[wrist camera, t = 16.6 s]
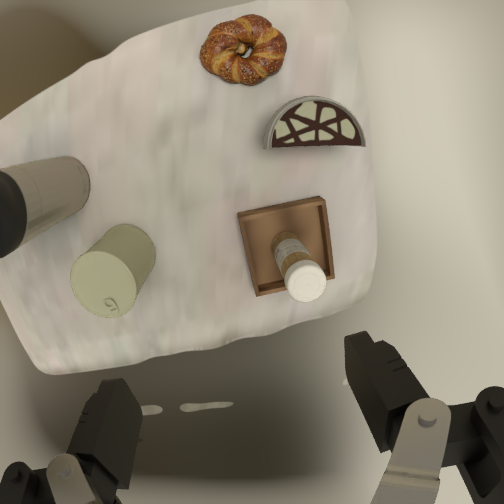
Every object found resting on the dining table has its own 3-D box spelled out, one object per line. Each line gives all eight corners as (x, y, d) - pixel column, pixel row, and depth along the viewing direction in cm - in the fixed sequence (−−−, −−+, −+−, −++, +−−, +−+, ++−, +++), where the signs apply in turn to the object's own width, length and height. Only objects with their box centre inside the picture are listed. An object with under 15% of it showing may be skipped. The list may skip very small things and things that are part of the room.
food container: (338, 103, 40) (367, 95, 31) (340, 144, 43) (370, 146, 33) (253, 104, 40) (261, 94, 30) (256, 147, 42) (265, 149, 33)
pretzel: (208, 95, 39) (206, 91, 36) (193, 28, 35) (191, 19, 32) (292, 80, 39) (298, 75, 36) (276, 15, 35) (280, 5, 32)
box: (254, 287, 49) (256, 296, 47) (237, 213, 45) (238, 218, 42) (329, 270, 49) (334, 278, 47) (319, 195, 45) (325, 199, 42)
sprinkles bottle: (293, 263, 48) (317, 307, 35) (266, 254, 47) (281, 297, 34) (305, 236, 46) (333, 272, 34) (277, 226, 46) (297, 260, 33)
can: (116, 287, 48) (91, 328, 36) (91, 237, 44) (56, 267, 33) (165, 269, 47) (148, 309, 36) (140, 215, 44) (113, 240, 33)
